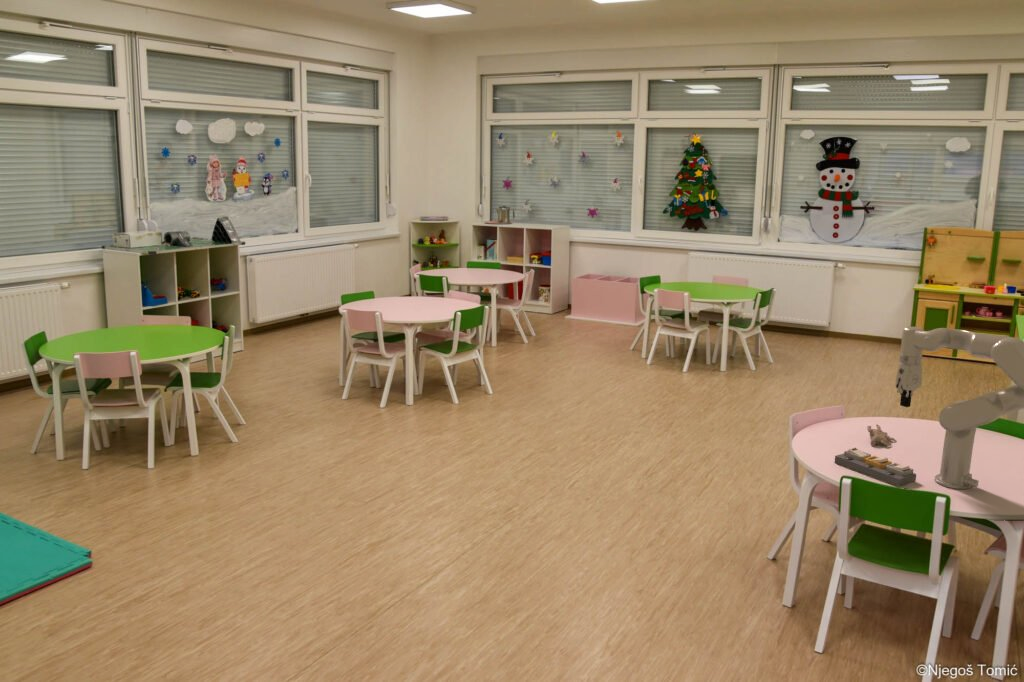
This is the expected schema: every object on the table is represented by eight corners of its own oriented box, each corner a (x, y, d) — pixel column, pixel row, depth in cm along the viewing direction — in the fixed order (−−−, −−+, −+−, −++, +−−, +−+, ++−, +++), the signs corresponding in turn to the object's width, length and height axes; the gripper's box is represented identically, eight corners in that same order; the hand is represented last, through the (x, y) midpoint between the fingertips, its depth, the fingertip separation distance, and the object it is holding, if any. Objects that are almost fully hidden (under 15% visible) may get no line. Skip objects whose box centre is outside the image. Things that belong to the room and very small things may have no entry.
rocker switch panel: (915, 481, 312) (916, 470, 311) (898, 487, 307) (900, 475, 306) (850, 458, 335) (851, 447, 334) (834, 462, 330) (835, 452, 329)
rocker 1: (866, 456, 328) (867, 454, 327) (859, 458, 326) (860, 456, 325) (854, 449, 332) (855, 447, 331) (848, 451, 330) (849, 448, 329)
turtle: (872, 442, 363) (866, 421, 363) (896, 438, 359) (889, 416, 359) (873, 453, 349) (866, 431, 348) (897, 449, 345) (890, 426, 344)
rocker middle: (887, 460, 320) (887, 457, 320) (881, 462, 318) (880, 459, 318) (875, 460, 324) (874, 457, 325) (868, 462, 322) (868, 459, 322)
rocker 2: (909, 468, 312) (909, 465, 312) (903, 470, 310) (902, 467, 310) (896, 467, 317) (895, 464, 317) (889, 469, 315) (889, 466, 315)
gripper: (907, 364, 309) (902, 411, 313) (931, 359, 317) (925, 405, 321) (889, 359, 315) (884, 406, 319) (913, 355, 323) (907, 400, 327)
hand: (905, 406), depth 320 cm, fingers closed
